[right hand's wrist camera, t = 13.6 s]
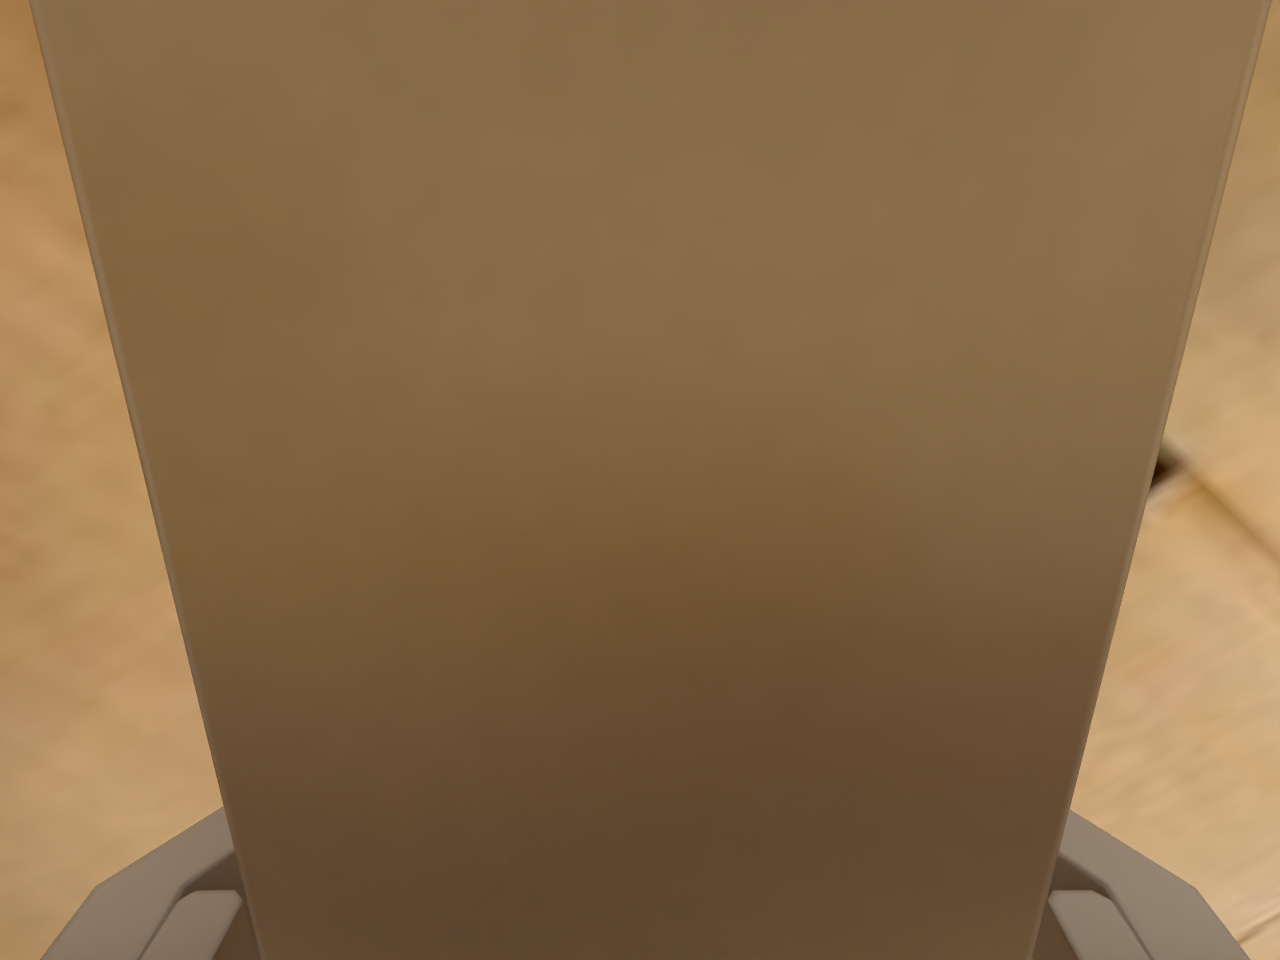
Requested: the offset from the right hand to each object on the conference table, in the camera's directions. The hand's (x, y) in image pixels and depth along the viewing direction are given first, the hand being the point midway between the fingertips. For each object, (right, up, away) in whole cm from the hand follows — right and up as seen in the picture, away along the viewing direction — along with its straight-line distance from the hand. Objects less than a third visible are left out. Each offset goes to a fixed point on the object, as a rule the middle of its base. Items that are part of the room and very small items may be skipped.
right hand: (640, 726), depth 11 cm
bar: (0, +9, 0) cm, 10 cm away
